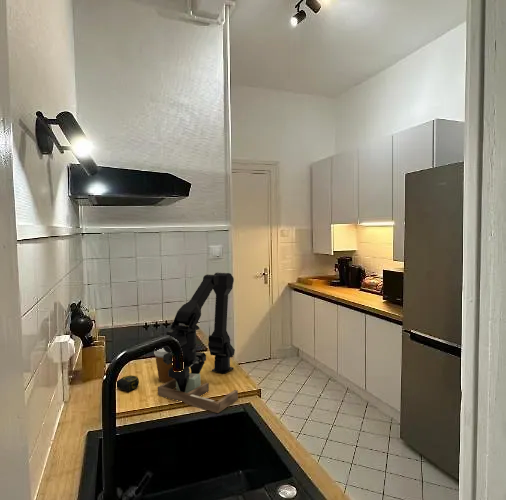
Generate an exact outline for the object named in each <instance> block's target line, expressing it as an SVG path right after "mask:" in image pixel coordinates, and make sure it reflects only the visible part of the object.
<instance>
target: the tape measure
mask: <svg viewBox="0 0 506 500" xmlns="http://www.w3.org/2000/svg"><path fill="white" fill-rule="evenodd" d="M139 379H140V378H139V377H138V376H136V375H131V374H130V375H126V376H123V377H121V378H119V379H118V380H117V381H116V382H117V387H116V388H117V389H120V390H123V391H127V392H131V391H132V390H134V389H136V388H138V386H139V383H140V382H139V381H140V380H139Z"/></svg>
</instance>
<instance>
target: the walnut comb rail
mask: <svg viewBox="0 0 506 500" xmlns="http://www.w3.org/2000/svg"><path fill="white" fill-rule="evenodd" d="M209 387H210V385H209V382H204V383H203V384H202V383H201V386H199V387H197V388H195V389H194V390H192V391H190V392H188V393H185V392H181V391H178V390H176V380H175V379H172V380H170V381H168V382H163V383H162V384H160V385H158V386H157V396H158V395H159V396H158V397H162V398H165V397H167V398H166V399H168V398H170V399H169V400H172V399H174V400H173V401H175V400H178V401H182V402H184V403H183V404H186V405H189V406H192V407H195V408H199V409H202V410H205V411H208V412H212V413H214V414H215V413H216V414H219V413H220V412H222V411H223V410H225V409H226V408H228V407H229V406H231V405H232V404H234V403H235V402H236V401H237V400H238V398H239V397H238V396H239V391H238V390H236V389H233V390H232V391H231V392H229V393H227V394H226V395H224V396H223V397H222V398H220V399H219V400H217V401H216V400H214V399H210V398H208V397H203V394H204V395H205V393H206V392H207V393H209V392H210V388H209ZM208 391H209V392H208ZM207 393H206V394H207ZM201 395H202V396H201ZM200 396H201V397H200ZM178 401H177V402H178ZM182 402H181V403H182Z"/></svg>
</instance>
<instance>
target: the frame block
mask: <svg viewBox="0 0 506 500" xmlns="http://www.w3.org/2000/svg"><path fill="white" fill-rule="evenodd" d="M189 375H190V376H189V380H188V383H187V386H186V390H185V393H188V392H190V391H192V390H194V389H195V388H197V387H199V386H201V385H202V383H201V380H202V379H201V373H200V374H194V373H191V372H189ZM175 390H178V391H180V389H179V386H178V383H177V381H176V388H175Z"/></svg>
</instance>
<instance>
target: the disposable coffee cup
mask: <svg viewBox="0 0 506 500" xmlns="http://www.w3.org/2000/svg"><path fill="white" fill-rule="evenodd" d="M166 353H168V352H166V351H165V350H164V349H163V348H162V349H159V350H157V351H155V350H154V352H153V354H154V356H155V364H156V369H157V376H158V381H159V382H161V383H166V382H168V381H170V380H172V379H174V378H171V377H169V376H168V370H169V369H170V368H171V367H173V365H172V363H170V364H169V365H167V364H166V363H164V362H163V357H164V354H166Z"/></svg>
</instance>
